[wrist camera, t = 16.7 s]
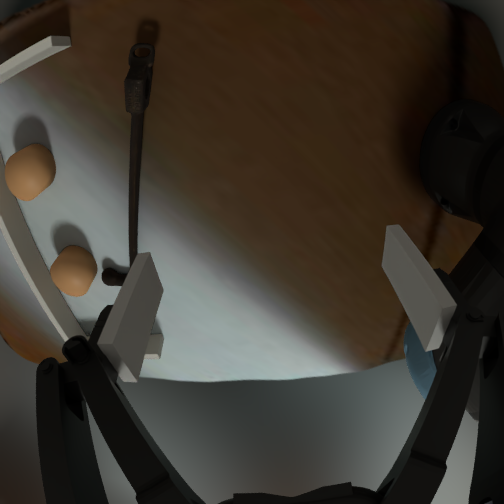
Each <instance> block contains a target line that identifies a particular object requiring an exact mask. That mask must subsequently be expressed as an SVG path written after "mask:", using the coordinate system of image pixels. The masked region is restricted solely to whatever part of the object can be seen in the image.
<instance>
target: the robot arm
mask: <svg viewBox="0 0 504 504" xmlns="http://www.w3.org/2000/svg"><path fill="white" fill-rule="evenodd" d="M420 172H421V178H422V182H423V184H424V187H425V189H426V191H427V193H428V194H429V196H430V197H431V198H432V199H433V201H435V202H436V203H437V204H438V205H439V206H440V207H441V208H442V209H443V210H445V211H446V212H448V213H450V214H452V215H454V216H457V217H460V218H463V219H466V220H469V221H472V222H475V223H478V224H480V225H481V226H482V227H484V228H483V230H482V231H481V233H480V234H479V236H478V237H477V239H476V240H475V241H474V242H473V244H472V245H471V247H470V248H469V249H468V251H467V252H466V253H465V255H464V256H463V257H462V259H461V260H460V261H459V262H458V264H457V265H456V266H455V268H454V269H453V270H452V271H451V273H450V274H449V275H448V274H447V273H445V272H444V271H443V270H441V269H440V268H438V269H432V268H431V266H430V265H429V263H428V262H427V261H426V259H425V258H424V257H423V255H422V254H421V252H420V251H419V250H418V248H417V247H416V246H415V245H414V243H413V242H412V241H411V239H410V238H409V237H408V235H407V234H406V233H405V232H404V230H403V229H402V228H401V227H400V225H389V226H387V229H386V238H385V246H384V254H383V261H382V267H383V269H384V271H385V273H386V275H387V276H388V278H389V280H390V282H391V284H392V286H393V288H394V289H395V291H396V293H397V295H398V297H399V299H400V301H401V303H402V305H403V307H404V309H405V311H406V313H407V315H408V317H409V319H410V323H409V324H408V326H407V328H406V331H405V335H404V352H405V355H406V362H407V366H408V369H409V372H410V374H411V376H412V379H413V381H414V383H415V385H416V386H417V388H418V390H419V391H420V393H421V395H422V396H423V398H424V399H425V402H424V405H423V407H422V409H421V412H420V414H419V416H418V418H417V420H416V422H415V425H414V427H413V429H412V431H411V433H410V435H409V437H408V439H407V441H406V443H405V445H404V447H403V449H402V450H401V452H400V454H399V456H398V458H397V460H396V461H395V463H394V465H393V467H392V469H391V470H390V472H389V473H388V475H387V476H386V478H385V479H384V480H383V482H382V483H381V485H380V486H379V488H378V489H377V491H376V492H375V491H372V490H370V489H367V488H363V487H356V486H352V485H351V482H348V483H342V484H337V485H331V486H325V487H321V488H319V489H316V490H313V491H310V492H307V493H304V494H302V495H299V496H296V497H286V496H279V495H273V494H266V493H239V494H238V493H236V494H233V495H234V496H233V497H234V498H232V499H228V500H225V501H223V502H221V503H218V504H431V502H432V500H433V498H434V496H435V494H436V492H437V490H438V488H439V486H440V484H441V482H442V479H443V477H444V475H445V472H446V469H447V466H446V460H447V457H448V455H449V452H450V450H451V448H452V445H453V443H454V440H455V437H456V435H457V432H458V429H459V426H460V423H461V421H462V417H463V414H464V411H465V409H466V410H467V412H468V413H469V414H470V415H471V416H472V417H473V419H474V420H475V421H476V422H479V424H478V437H477V447H476V456H475V463H474V470H473V477H472V482H471V487H470V494H469V504H504V118H503V117H502V116H501V115H500V114H499V113H498V112H497V111H496V110H494V109H493V108H491V107H490V106H488V105H486V104H483V103H480V102H477V101H474V100H468V99H464V100H457V101H454V102H452V103H450V104H448V105H447V106H445V107H444V108H443V109H441V110H440V111H439V112H438V113H437V114H436V116H435V117H434V118H433V120H432V121H431V123H430V124H429V126H428V128H427V130H426V133H425V135H424V138H423V142H422V146H421V151H420ZM163 291H164V290H163V287H162V284H161V282H160V279H159V276H158V274H157V271H156V268H155V265H154V262H153V260H152V257H151V254H150V252H147V253H139V254H137V256H136V258H135V260H134V262H133V264H132V266H131V268H130V271H129V273H128V275H127V277H126V279H125V281H124V283H123V285H122V287H121V290H120V292H119V294H118V296H117V298H116V301H115V303H114V305H107V306H106V307H105V308H104V309H103V310H102V312H101V313H100V315H99V317H98V320H97V322H96V324H95V328H93V331H92V333H91V335H90V338H89V340H88V341H87V339H86V338H85V337H84V336H82V335H76V336H73V337H71V338H70V339H68V340H67V341H66V342H65V344H64V345H63V348H62V353H63V355H64V356H65V357H66V359H67V360H68V361H67V362H63V363H60V364H59V362H58V361H57V360H56V359H55V358H52V357H50V358H46V359H44V360H43V361H42V362H41V363H40V364H39V366H38V367H37V371H36V414H37V415H36V416H37V434H38V447H39V456H40V465H41V473H42V480H43V486H44V492H45V497H46V503H47V504H109V503H108V500H107V497H106V493H105V490H104V486H103V482H102V479H101V475H100V471H99V468H98V463H97V459H96V455H95V450H94V445H93V441H92V436H91V431H90V425H89V420H88V413H87V407H86V402H87V404H88V406H89V408H90V410H91V412H92V415H93V417H94V419H95V421H96V423H97V425H98V427H99V429H100V431H101V433H102V435H103V437H104V439H105V441H106V443H107V445H108V446H109V448H110V450H111V452H112V454H113V456H114V457H115V459H116V461H117V463H118V464H119V466H120V467H121V469H122V471H123V473H124V474H125V476H126V478H127V479H128V481H129V482H130V484H131V486H132V487H133V489H134V490H135V492H136V500H137V502H138V504H206V503H205V502H204V501H203V500H202V499H201V498H200V497H199V496H198V495H196V493H195V492H194V491H193V490H192V489H191V488H190V487H189V486H188V484H187V483H186V482H185V481H184V479H183V478H182V477H181V476H180V475H179V473H178V472H177V471H176V470H175V468H174V467H173V466H172V464H171V463H170V461H169V460H168V459H167V457H166V456H165V455H164V453H163V452H162V451H161V449H160V448H159V447H158V445H157V444H156V442H155V441H154V439H153V438H152V436H151V435H150V434H149V432H148V431H147V429H146V428H145V426H144V425H143V423H142V422H141V420H140V419H139V417H138V416H137V414H136V412H135V411H134V409H133V407H132V406H131V404H130V403H129V401H128V399H127V398H126V396H125V395H124V393H123V391H122V389H121V388H120V386H119V384H118V383H117V382H116V380H117V377H118V375H119V376H120V378H121V379H122V380H123V382H138V379H139V375H140V371H141V367H142V363H143V360H144V356H145V352H146V349H147V345H148V341H149V338H150V334H151V331H152V327H153V324H154V320H155V317H156V314H157V310H158V307H159V304H160V300H161V297H162V294H163Z"/></svg>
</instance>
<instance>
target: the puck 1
mask: <svg viewBox="0 0 504 504" xmlns="http://www.w3.org/2000/svg"><path fill="white" fill-rule="evenodd" d="M55 174H56V165H55V160H54V158H53V156H52V154H51V152H50V151H49V150H48V149H47V148H46V147H45V146H43V145H41V144H31V145H29V146H27V147H25V148H23V149H22V150H20V151H18V152H16V153H15V154H13V155H12V156H10V158H9V159H8V161H7V163H6V166H5V179H6V183H7V186H8V188H9V190H10V191H11V192H12V194H13V195H14V196H16V197H17V198H18V199H20V200H23V201H30V200H32V199H34V198H35V197H37V196H38V195H39V194H40V193H41V192H42V191H44V190H45V189H46V188H47V187H48V186H50V185H51V183H52V182H53V180H54V178H55Z"/></svg>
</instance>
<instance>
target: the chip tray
mask: <svg viewBox="0 0 504 504" xmlns="http://www.w3.org/2000/svg"><path fill="white" fill-rule="evenodd" d="M70 46H71V40H70V37H68V36H49V37H47V38H45V39H43V40H42V41H40V42H38V43H36V44H34V45H32V46H31V47H29V48H27V49H25V50H24V51H22V52H20V53H19V54H17V55H15V56H14V57H12V58H10V59H9V60H7V61H6V62H4V63H3V64H1V65H0V84H1V83H2V82H4V81H6V80H7V79H9V78H10V77H12V76H14V75H16V74H17V73H19V72H21V71H22V70H24V69H26V68H28V67H30V66H32V65H33V64H35V63H37V62H39V61H41V60H43V59H45V58H47V57H49V56H51V55H53V54H55V53H57V52H59V51H61V50H64V49H66V48H68V47H70ZM0 228H1V231H2V233H3V235H4V237H5V239H6V241H7V244H8V246H9V248H10V250H11V252H12V254H13V256H14V258H15V260H16V262H17V264H18V265H19V267H20V269H21V271H22V273H23V275H24V277H25V278H26V280H27V282H28V284H29V286H30V287H31V289H32V291H33V292H34V294H35V296H36V298H37V299H38V301H39V302H40V304H41V306H42V307H43V309H44V311H45V312H46V314H47V315H48V317H49V318H50V320H51V321H52V323H53V324H54V326H55V327H56V329H57V330H58V332H59V333H60V335H61V336H62V338H63V339H64V340H65V342H66V341H67V340H68V339H70V338H71V337H73V336H76V335H82V336H84V337H85V338H86V339H87V341H88V340H89V338H90V336H86V334H85V333H84V331H83V330H82V328H81V327H80V325H79V324H78V322H77V320H76V319H75V317H74V315H73V314H72V312H71V310H70V309H69V307H68V305H67V304H66V302H65V300H64V298H63V297H62V295H61V293H60V291H59V290H58V288H57V286H56V285H55V284H54V282H53V280H52V278H51V275H50V273H49V271H48V269H47V267H46V265H45V263H44V261H43V259H42V257H41V255H40V253H39V251H38V249H37V247H36V245H35V242H34V240H33V238H32V236H31V234H30V231H29V229H28V227H27V224H26V222H25V220H24V217H23V215H22V212H21V210H20V208H19V205H18V202H17V200H16V197H15V196H14V195H13V194H12V192H11V191H10V190H9V188H8V186H7V183H6V179H5V166H4V163H3V159H2V156H1V153H0ZM163 342H164V338H163V336H162V334H151V335H150V338H149V341H148V345H147V349H146V352H145V356H144V359H160V357H161V352H162V347H163Z"/></svg>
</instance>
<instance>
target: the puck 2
mask: <svg viewBox="0 0 504 504" xmlns="http://www.w3.org/2000/svg"><path fill="white" fill-rule="evenodd" d="M96 274H97V264H96V261H95V259H94V258H93V256H92V255H91V254H90V253H89V252H88V251H87V250H85V249H84V248H82V247H79V246H74V245H72V246H67V247H65V248H64V249H63V250H62V252H61V253H60V255H59V256H58V257H57V259H56V260H55V261H54V263H53V264H52V266H51V269H50V275H51V278H52V280H53V282H54V284H55V285H56V286H57V287H58V288H59V289H60V290H61V291H62V292H64V293H66V294H68V295H70V296H76V297H78V296H82V295H84V294H86V293H87V291H88V289H89V287H90V285H91V283H92V282H93V280H94V278H95V276H96Z"/></svg>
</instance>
